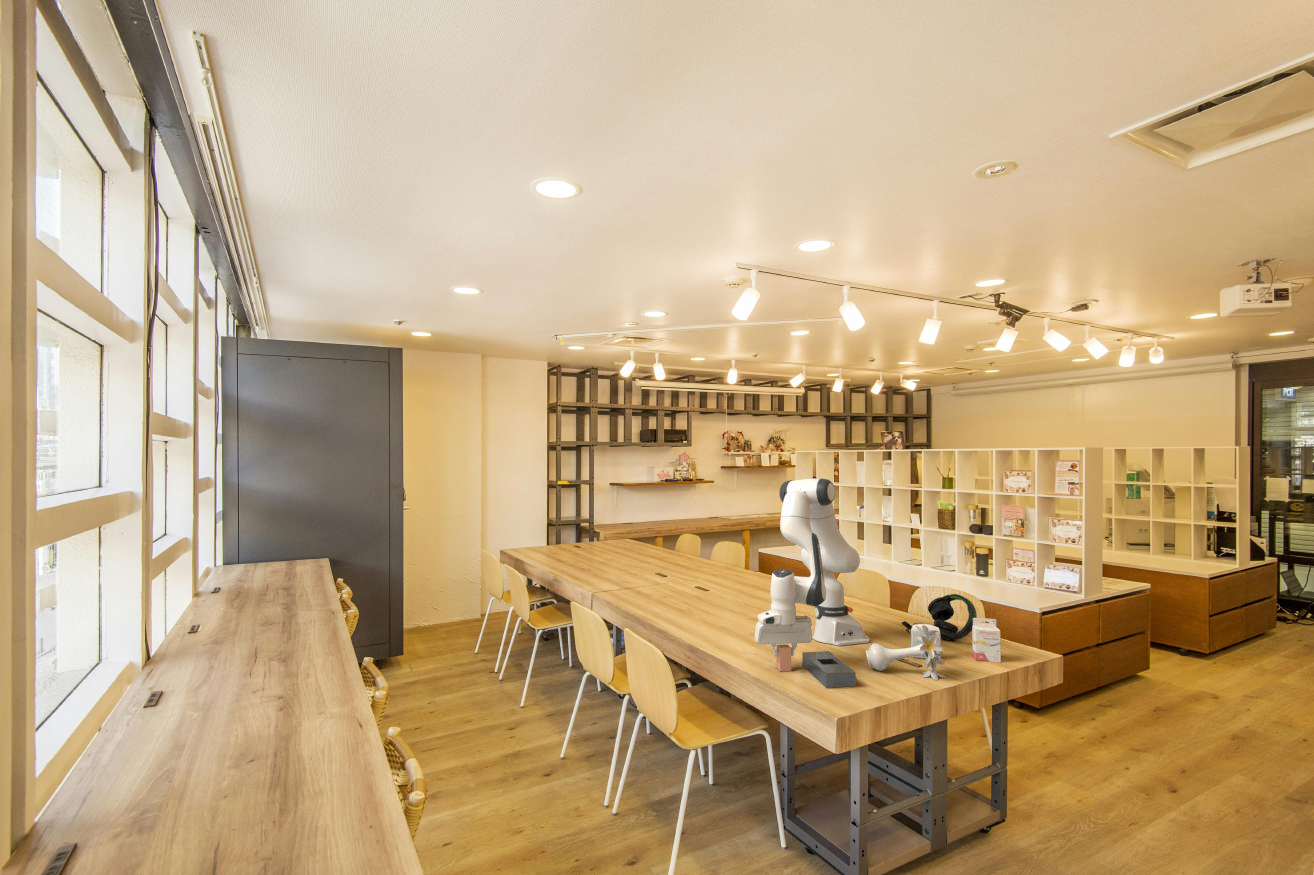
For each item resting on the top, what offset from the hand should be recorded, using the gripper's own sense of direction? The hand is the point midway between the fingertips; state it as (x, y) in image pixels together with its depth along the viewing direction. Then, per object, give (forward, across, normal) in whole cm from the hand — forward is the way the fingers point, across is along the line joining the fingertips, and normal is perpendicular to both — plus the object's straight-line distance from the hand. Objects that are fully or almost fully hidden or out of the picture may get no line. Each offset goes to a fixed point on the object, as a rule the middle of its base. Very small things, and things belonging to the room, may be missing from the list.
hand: (783, 655), depth 218 cm
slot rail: (+5, -13, +8) cm, 16 cm away
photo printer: (+5, -57, -6) cm, 57 cm away
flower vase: (+5, -41, +9) cm, 42 cm away
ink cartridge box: (+5, -78, -1) cm, 78 cm away
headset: (+5, -76, -28) cm, 82 cm away
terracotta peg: (+5, 0, 0) cm, 5 cm away
